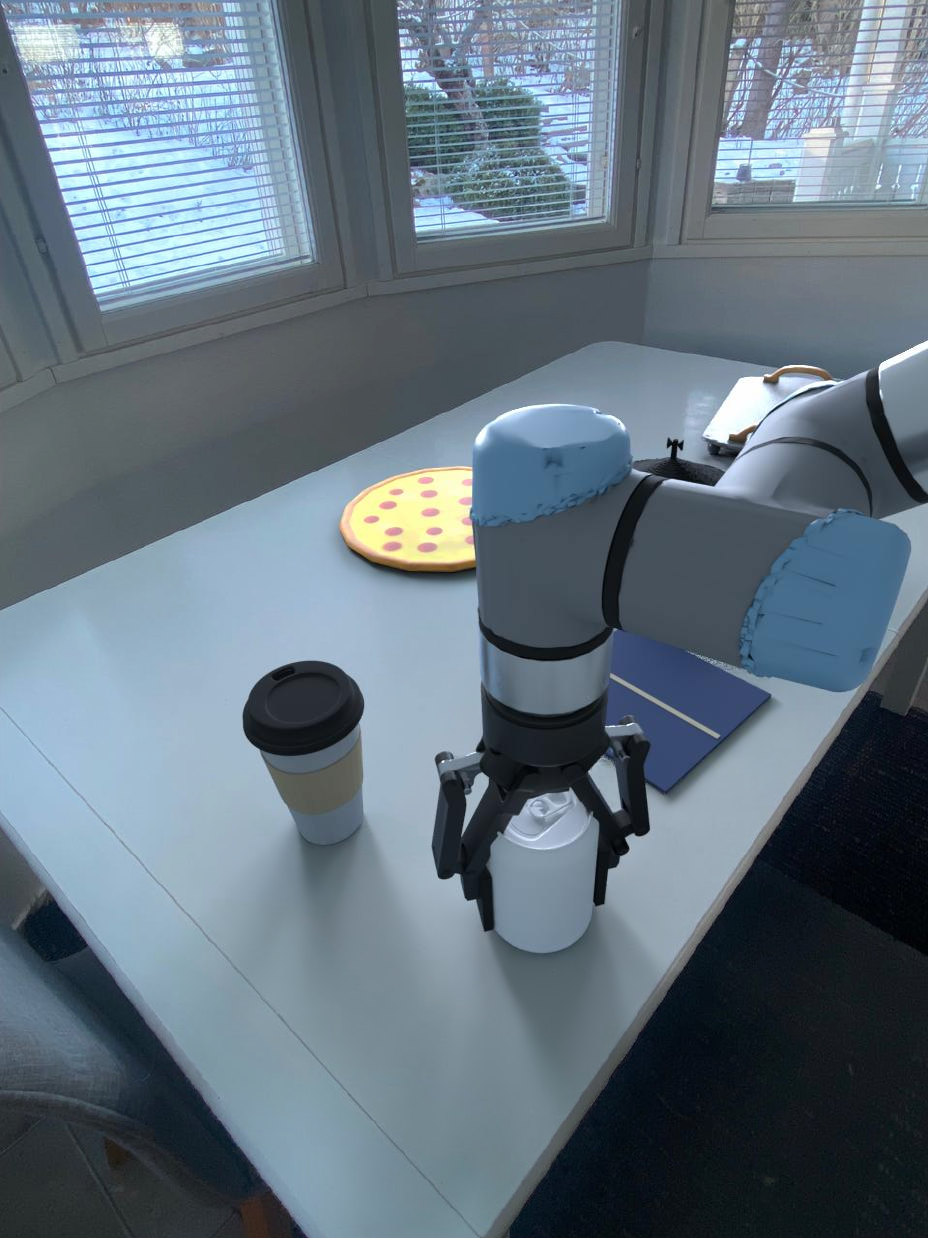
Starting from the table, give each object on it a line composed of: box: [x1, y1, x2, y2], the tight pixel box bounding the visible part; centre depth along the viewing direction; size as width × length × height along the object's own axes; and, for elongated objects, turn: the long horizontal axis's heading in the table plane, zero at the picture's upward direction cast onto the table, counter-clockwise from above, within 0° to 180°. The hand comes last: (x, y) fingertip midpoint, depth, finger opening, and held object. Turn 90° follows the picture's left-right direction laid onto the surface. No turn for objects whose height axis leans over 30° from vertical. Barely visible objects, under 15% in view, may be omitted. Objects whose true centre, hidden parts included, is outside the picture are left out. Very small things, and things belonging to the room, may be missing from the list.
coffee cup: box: [241, 659, 365, 846], centre depth 60 cm, size 9×9×15 cm
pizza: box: [338, 465, 476, 573], centre depth 109 cm, size 32×32×1 cm
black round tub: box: [632, 436, 726, 487], centre depth 95 cm, size 18×18×15 cm
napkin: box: [604, 629, 772, 795], centre depth 75 cm, size 18×18×1 cm
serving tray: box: [700, 364, 835, 455], centre depth 128 cm, size 39×23×6 cm, turn 152°
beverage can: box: [486, 787, 599, 954], centre depth 53 cm, size 8×8×12 cm
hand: (539, 902), depth 56 cm, fingers closed on beverage can, 8 cm apart
